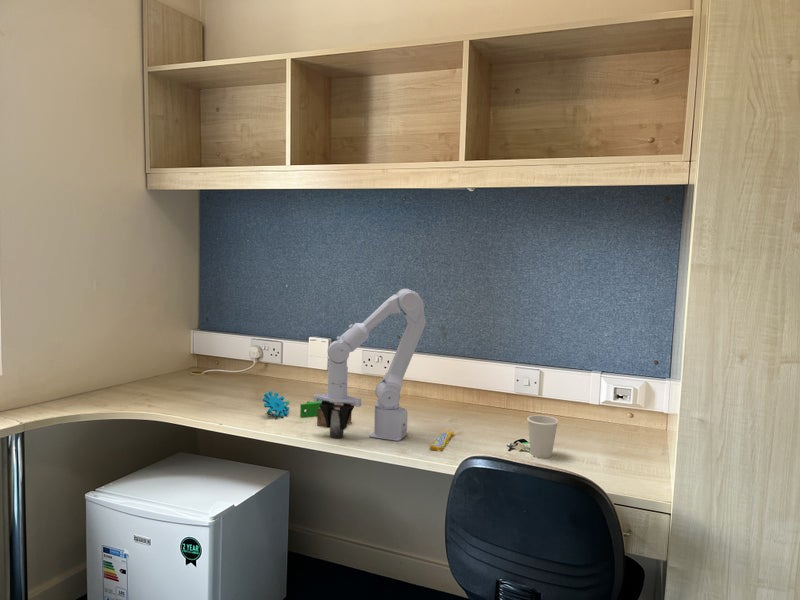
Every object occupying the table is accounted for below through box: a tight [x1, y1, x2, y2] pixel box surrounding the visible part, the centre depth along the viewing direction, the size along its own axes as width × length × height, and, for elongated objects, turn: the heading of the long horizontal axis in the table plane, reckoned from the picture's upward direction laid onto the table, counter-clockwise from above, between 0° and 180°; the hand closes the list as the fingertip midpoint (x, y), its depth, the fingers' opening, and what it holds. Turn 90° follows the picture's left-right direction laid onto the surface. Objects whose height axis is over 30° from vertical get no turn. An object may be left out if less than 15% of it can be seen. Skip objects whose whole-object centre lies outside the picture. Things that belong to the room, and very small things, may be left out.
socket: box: [316, 403, 353, 428], centre depth 190 cm, size 8×8×6 cm
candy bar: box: [429, 430, 455, 452], centre depth 175 cm, size 17×4×2 cm, turn 164°
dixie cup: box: [526, 414, 559, 459], centre depth 166 cm, size 8×8×10 cm
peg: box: [329, 407, 345, 439], centre depth 177 cm, size 4×4×8 cm
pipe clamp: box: [299, 400, 322, 419], centre depth 200 cm, size 11×4×5 cm, turn 116°
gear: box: [262, 390, 291, 418], centre depth 198 cm, size 11×6×10 cm
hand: (336, 427), depth 177 cm, fingers closed on peg, 4 cm apart
